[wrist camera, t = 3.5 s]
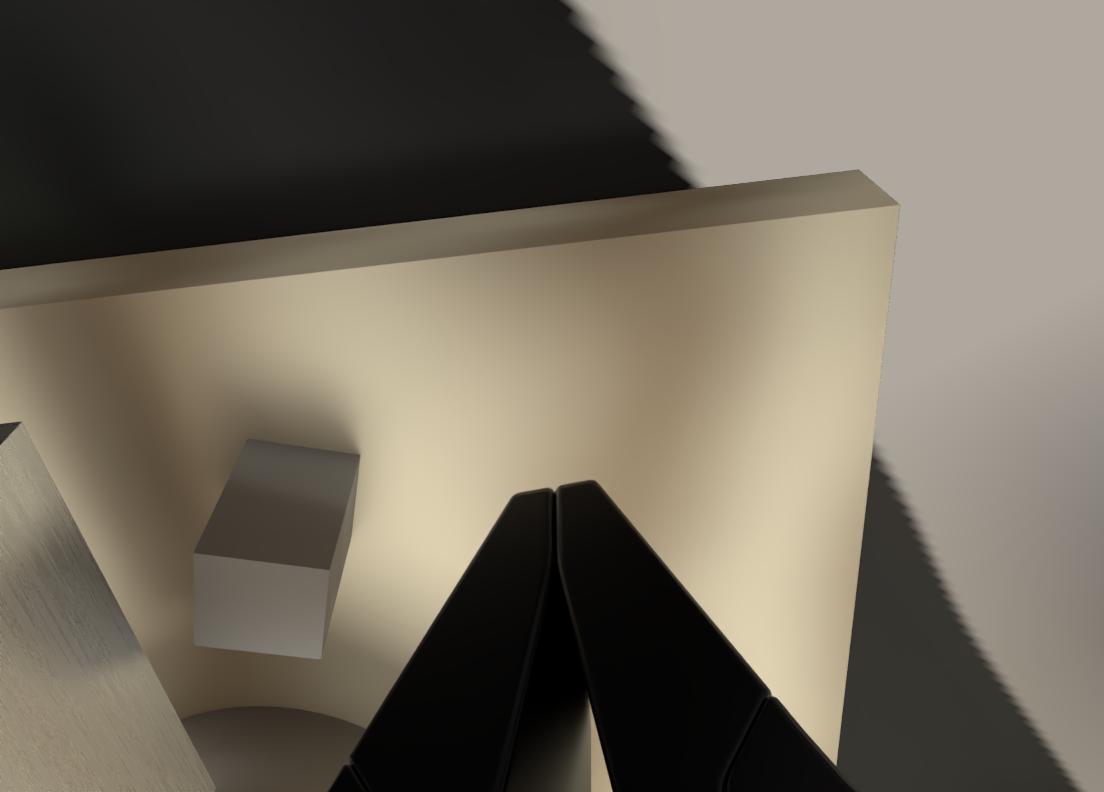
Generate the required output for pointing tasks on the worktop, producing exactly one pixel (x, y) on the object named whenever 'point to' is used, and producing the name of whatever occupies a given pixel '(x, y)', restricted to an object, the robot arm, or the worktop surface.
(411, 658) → the robot arm
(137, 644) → the grey piece
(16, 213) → the worktop surface
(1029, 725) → the worktop surface
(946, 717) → the worktop surface
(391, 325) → the base plate
